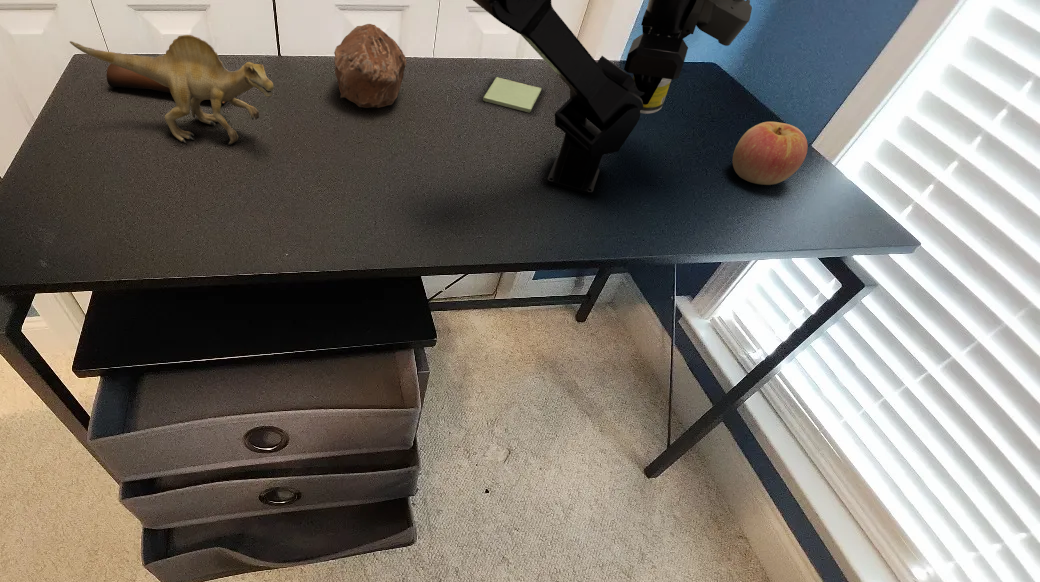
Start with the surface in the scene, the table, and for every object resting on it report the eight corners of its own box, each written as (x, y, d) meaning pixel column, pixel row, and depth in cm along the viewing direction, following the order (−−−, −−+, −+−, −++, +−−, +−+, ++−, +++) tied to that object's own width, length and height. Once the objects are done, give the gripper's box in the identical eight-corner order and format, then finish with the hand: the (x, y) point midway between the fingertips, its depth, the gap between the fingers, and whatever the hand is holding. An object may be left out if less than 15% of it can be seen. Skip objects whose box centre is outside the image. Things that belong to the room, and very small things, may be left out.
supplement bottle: (619, 99, 82) (635, 36, 75) (650, 92, 82) (669, 29, 76) (636, 118, 79) (655, 55, 72) (669, 110, 80) (690, 47, 73)
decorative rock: (340, 74, 100) (340, 9, 93) (406, 81, 100) (411, 17, 92) (327, 113, 92) (325, 46, 84) (399, 121, 92) (404, 55, 84)
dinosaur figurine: (278, 158, 84) (268, 61, 73) (98, 130, 85) (64, 31, 75) (293, 129, 88) (286, 35, 78) (123, 103, 90) (93, 7, 79)
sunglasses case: (239, 78, 96) (226, 51, 89) (230, 118, 95) (217, 93, 88) (131, 63, 97) (111, 35, 90) (121, 102, 96) (100, 77, 89)
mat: (529, 113, 96) (530, 109, 96) (482, 100, 98) (483, 97, 97) (540, 91, 101) (541, 88, 101) (495, 80, 103) (496, 76, 102)
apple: (790, 199, 86) (825, 149, 80) (728, 189, 86) (757, 139, 80) (776, 166, 91) (808, 117, 85) (718, 157, 92) (745, 107, 86)
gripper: (756, 9, 60) (700, 145, 72) (770, -63, 69) (719, 68, 82) (642, -5, 63) (608, 128, 75) (670, -72, 72) (636, 55, 85)
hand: (646, 93), depth 79 cm, fingers closed on supplement bottle, 5 cm apart
